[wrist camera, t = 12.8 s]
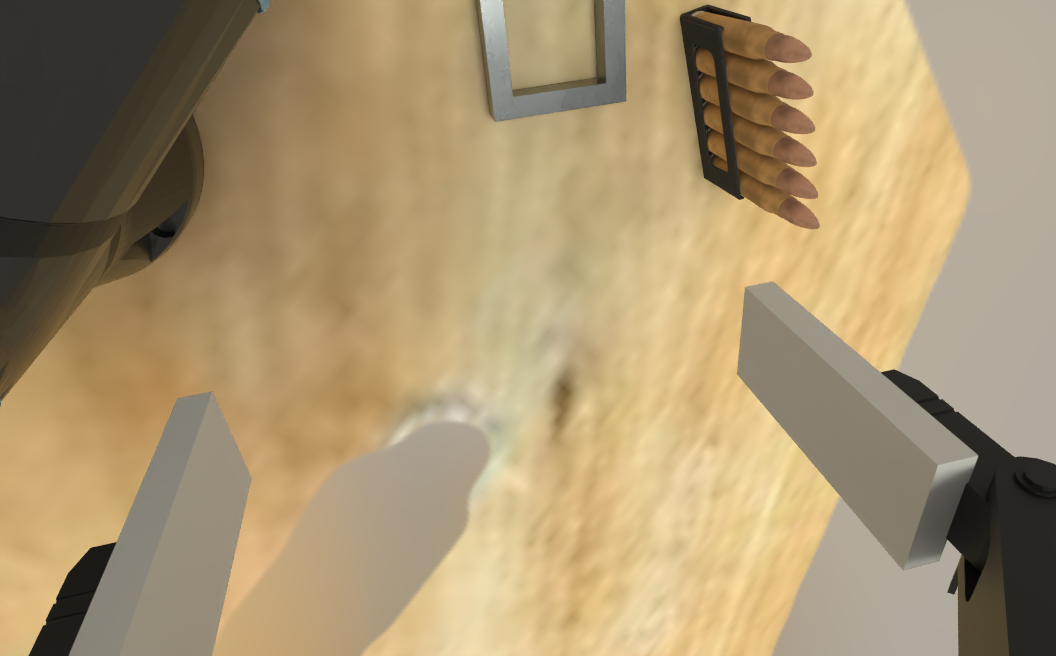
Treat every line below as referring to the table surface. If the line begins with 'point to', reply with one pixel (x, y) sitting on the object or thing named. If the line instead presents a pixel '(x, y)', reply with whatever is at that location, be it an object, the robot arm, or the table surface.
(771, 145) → the ammunition clip
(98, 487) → the table surface
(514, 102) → the grey slotted plate
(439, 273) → the table surface
